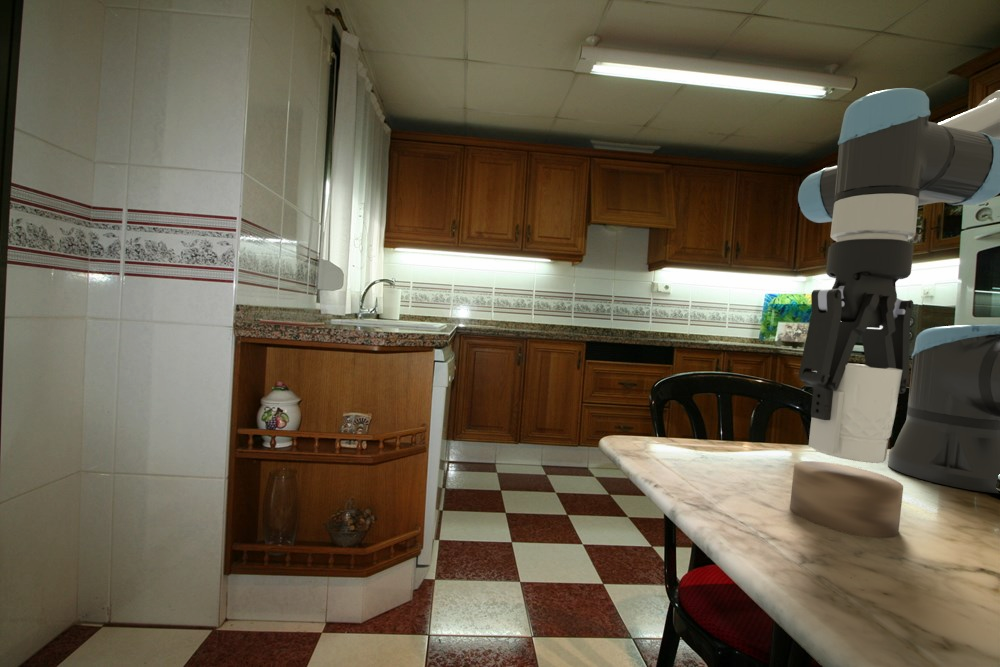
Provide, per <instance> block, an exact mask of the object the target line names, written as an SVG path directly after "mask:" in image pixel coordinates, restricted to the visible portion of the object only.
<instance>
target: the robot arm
mask: <svg viewBox="0 0 1000 667" xmlns="http://www.w3.org/2000/svg"><path fill="white" fill-rule="evenodd" d="M930 116H931V110H930V98H929V96H928V95H927V93H926V92H925V91H923V90H921V89H917V88H910V87H909V88H907V87H899V88H898V87H897V88H890V89H889V88H888V89H884V90H879V91H875V92H872V93H869V94H866V95H865V96H862V97H860V98H858V99H856V100H855V101H853V102H852V103H851V104H849V105H848V107H847V108H846V110H845V112H844V114H843V119H842V124H841V130H840V134H839V138H838V141H837V145H838V153H837V154H838V155H837V165H834V166H831V167H830V166H828V167H825V168H823V169H821V170H819V171H817V172H814V173H811V174H809V175H808V176H807V177H806V178H805V179H804V180H803V181H802V183H801V184H800V186H799V188H798V189H799V190H798V195H797V201H798V204H799V207H800V212H801V213H802V214H803V216H804V217H805V218H806V219H808V220H809V221H811V222H813V223H818V224H819V223H820V224H822V223H831V227H830V229H831V230H830V238H831V239H832V240H833V241H835V242H833V243H831V244H830V245H829V246H828V249H827V250H828V251H827V259H826V260H827V261H826V271H825V272H826V275H827V276H828V277H829V278H831V279H835V281H834V283H833V286H832V288H830V289H813V290H812V292H811V295H810V296H811V300H810V301H811V313H810V319H809V323H808V326H807V327H808V328H807V333H806V339H805V343H804V348H803V351H802V352H803V353H802V355H801V356H802V358H801V361H800V366H799V371H798V379H799V380H800V381H802V383H803V385H804V386H805V387H811V388H812V397H811V406H810V407H811V408H810V417H811V421H810V428H809V439H808V447H809V448H812V447H813V448H816V449H819V450H823V451H826V452H830V453H838V444H839V435H840V426H841V416H842V407H843V398H844V392H842V391H836V390H837V389H838V387H839V385H840V382H841V379H842V377H843V374H844V372H845V368H846V365H847V364H848V363H849V360H850V359H851V355H852V352H853V350H854V348H855V345H856V343H857V340H858V338H859V335H860V337H861V340H862V348H863V354H864V359H865V365H867V366H869V367H871V368H882V369H887V368H896V369H901V370H903V371H902V377H901V383H900V388H899V394H905V393H906V390H907V387H908V385H909V391H908V392H909V393H908V402H907V411H906V420H905V422H904V424H903V426H902V428H901V430H900V432H899V434H898V436H897V439H895V440H896V441H895V443H894V446H893V447H891V449H889V451H888V459H887V465H888V467H889V468H891V469H893V470H895V471H897V472H898V473H902V474H904V475H907V476H911V477H914V478H916V479H920V480H923V481H927V482H932V483H935V484H941V485H945V486H950V487H953V488H959V489H965V490H969V491H977V492H983V493H989V494H990V493H992V494H1000V493H999V492H998V490H997V489H996V484H997V480H998V475H999V474H1000V324H962V325H960V324H958V325H948V326H947V325H946V326H935V327H931V328H930V327H929V328H926V329H924V330H922V331H921V332H919V333H918V334H917V336H916V338H915V341H914V342H915V343H914V348H913V352H912V354H911V359H912V360H911V371H910V349H911V348H910V343H911V342H910V341H911V340H910V338H911V318H912V314H913V311H914V301H913V300H912V299H900V298H898V295H897V290H896V283H897V281H898V280H903V279H907V278H908V277H910V275H911V273H912V268H913V267H912V265H913V256H914V249H915V248H914V247H915V246H914V245H913V244H912V242H911V241H909V240H911V239H913V238H914V237H916V233H917V232H916V231H917V221H918V220H917V219H918V210H919V209H918V208H919V206H926V205H931V204H935V203H946V204H947V205H952V206H959V205H963V206H964V205H965V206H972V205H978V204H982V203H984V202H985V203H986V202H988V201H989V200H991V199H993V198H995V197H996V196H998V195H999V194H1000V89H999V90H996V91H995V92H993V93H991V94H990V95H988V96H986V97H985V98H984V99H983V100H981V102H980V103H979V104H978V105H977V107H974V108H972V109H969V110H967V111H964V112H962V113H960V114H957V115H955V116H952V117H951V118H947V119H945V120H943V121H940V122H938V123H936V122H932V121H929V119H930ZM829 375H830V377H829ZM909 382H910V383H909ZM813 448H812V449H813Z"/></svg>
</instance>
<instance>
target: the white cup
mask: <svg viewBox="0 0 1000 667" xmlns="http://www.w3.org/2000/svg"><path fill="white" fill-rule="evenodd" d="M902 371H903V370H901V369H896V368H887V369H882V368H871V367H869V366H867V365H866V364H860V363H852V362H851V363H850V362H848V364H847V365H846V368H845V372H844V374H843V377H842V379H841V382H840V385H839V387H838V389H837V390H836V391H842V392H844V398H843V407H842V416H841V426H840V435H839V444H838V453H830V452H826V451H823V450H819V449H816V448H813V447H811V449H813V450H815V451H816V452H818V453H821V454H824V455H827V456H831V457H834V458H839V459H844V460H849V461H855V462H860V463H871V464H880V463H884V462H885V461H886V459H887V458H886V457H887V454H888V449H889V447H888V446H889V439H890V438H891V436H892V431H893V426H894V422H895V418H896V412H897V405H898V400H899V399H898V398H899V394H900V393H899V388H900V383H901V377H902ZM829 377H830V375H829Z"/></svg>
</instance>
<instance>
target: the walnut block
mask: <svg viewBox="0 0 1000 667" xmlns="http://www.w3.org/2000/svg"><path fill="white" fill-rule="evenodd" d="M792 471H793V472H792V473H793V474H792V482H791V484H792V485H791V493H790V502H789V509H790V510H791V511H792V512H793V513H794V514H795V515H797V516H799V517H801V518H802V519H805V521H808V522H810V523H813V524H815V525H818V526H821V527H823V528H827V529H830V530H833V531H837V532H840V533H844V534H849V535H854V536H859V537H865V538H873V539H875V538H876V539H880V538H881V539H887V538H893V537H896V536H898V535H899V532H900V531H899V530H900V522H901V511H902V503H903V493H904V485H903V484H902V483H901V482H900V481H898V480H896V479H893V478H892V477H889V476H886V475H883V474H880V473H877V472H874V471H871V470H867V469H863V468H859V467H854V466H850V465H845V464H838V463H834V462H833V463H830V462H825V461H812V460H808V461H807V460H806V461H805V460H804V461H797V462H795V463H794V464H793V470H792Z"/></svg>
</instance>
